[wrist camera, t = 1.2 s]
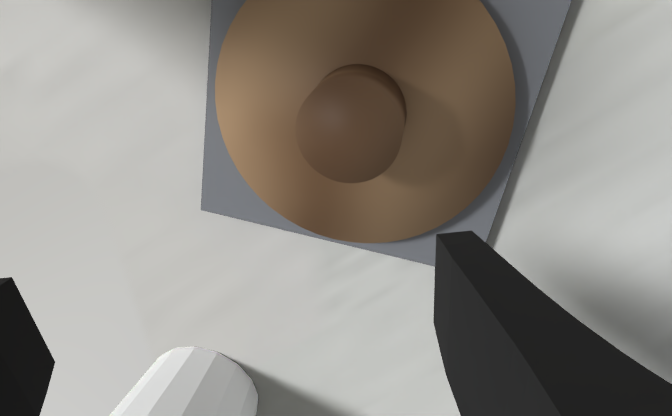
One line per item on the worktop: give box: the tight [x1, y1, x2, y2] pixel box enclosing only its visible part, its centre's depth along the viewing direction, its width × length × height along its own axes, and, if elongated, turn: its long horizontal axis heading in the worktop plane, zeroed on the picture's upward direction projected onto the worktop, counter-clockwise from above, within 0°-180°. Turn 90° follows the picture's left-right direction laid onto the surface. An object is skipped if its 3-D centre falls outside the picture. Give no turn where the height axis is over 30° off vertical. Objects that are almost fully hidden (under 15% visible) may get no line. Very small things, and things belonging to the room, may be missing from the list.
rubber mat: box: [201, 0, 572, 266], centre depth 19 cm, size 11×11×1 cm
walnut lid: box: [215, 0, 516, 243], centre depth 17 cm, size 10×10×3 cm
